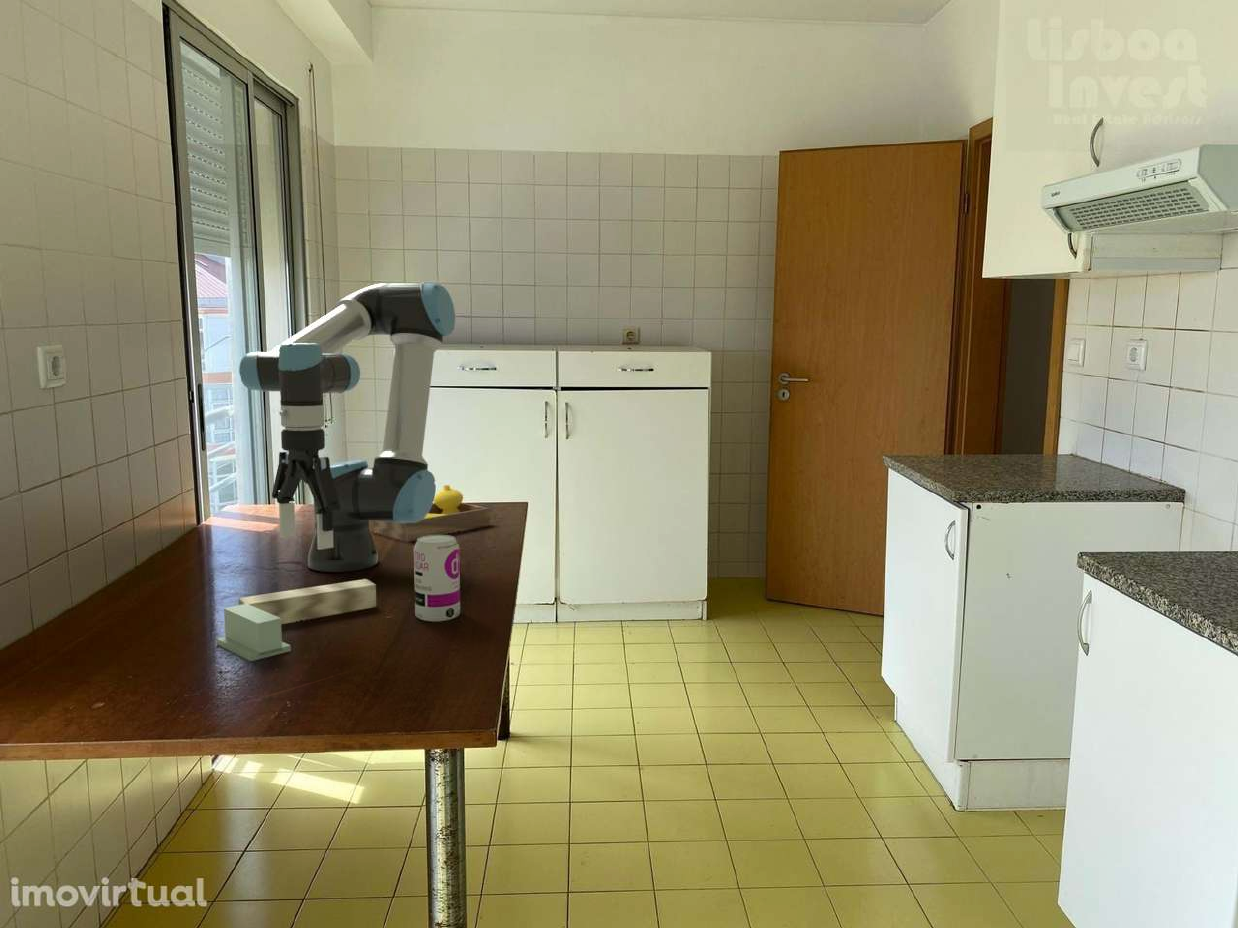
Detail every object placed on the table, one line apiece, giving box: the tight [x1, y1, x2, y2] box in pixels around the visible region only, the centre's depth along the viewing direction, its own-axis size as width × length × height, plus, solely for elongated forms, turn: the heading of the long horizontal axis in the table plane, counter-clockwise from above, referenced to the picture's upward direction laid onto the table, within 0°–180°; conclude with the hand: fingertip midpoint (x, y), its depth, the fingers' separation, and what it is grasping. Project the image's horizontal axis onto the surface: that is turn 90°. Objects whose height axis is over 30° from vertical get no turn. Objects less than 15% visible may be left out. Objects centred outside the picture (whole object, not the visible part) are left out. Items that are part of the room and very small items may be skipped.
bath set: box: [423, 484, 464, 519], centre depth 255 cm, size 20×10×11 cm, turn 145°
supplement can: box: [413, 534, 461, 622], centre depth 179 cm, size 8×8×15 cm
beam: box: [238, 578, 377, 625], centre depth 180 cm, size 24×5×5 cm, turn 126°
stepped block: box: [216, 604, 292, 662], centre depth 161 cm, size 12×7×6 cm, turn 47°
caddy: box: [370, 502, 491, 543], centre depth 252 cm, size 16×26×6 cm, turn 137°
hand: (306, 542), depth 178 cm, fingers open, 13 cm apart
